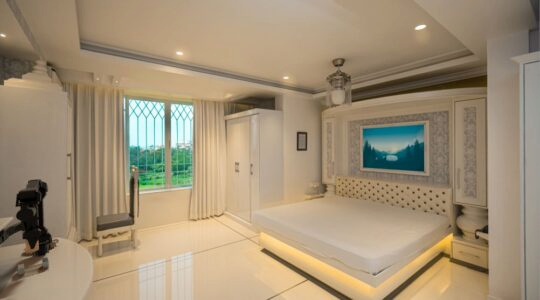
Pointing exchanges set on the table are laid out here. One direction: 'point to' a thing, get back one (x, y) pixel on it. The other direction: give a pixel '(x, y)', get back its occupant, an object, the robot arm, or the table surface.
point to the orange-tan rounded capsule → (28, 249)
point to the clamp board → (33, 270)
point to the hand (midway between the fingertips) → (32, 247)
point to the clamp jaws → (44, 263)
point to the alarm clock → (48, 245)
